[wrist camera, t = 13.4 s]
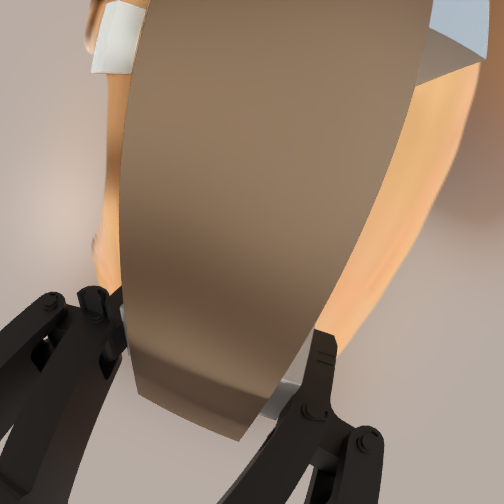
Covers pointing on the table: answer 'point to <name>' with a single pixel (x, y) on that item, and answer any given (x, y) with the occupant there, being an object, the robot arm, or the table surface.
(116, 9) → the cradle
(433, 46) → the bore block
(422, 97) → the table surface
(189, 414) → the walnut bar
